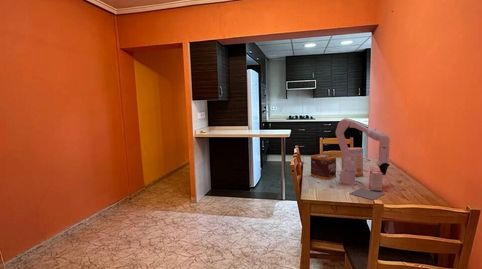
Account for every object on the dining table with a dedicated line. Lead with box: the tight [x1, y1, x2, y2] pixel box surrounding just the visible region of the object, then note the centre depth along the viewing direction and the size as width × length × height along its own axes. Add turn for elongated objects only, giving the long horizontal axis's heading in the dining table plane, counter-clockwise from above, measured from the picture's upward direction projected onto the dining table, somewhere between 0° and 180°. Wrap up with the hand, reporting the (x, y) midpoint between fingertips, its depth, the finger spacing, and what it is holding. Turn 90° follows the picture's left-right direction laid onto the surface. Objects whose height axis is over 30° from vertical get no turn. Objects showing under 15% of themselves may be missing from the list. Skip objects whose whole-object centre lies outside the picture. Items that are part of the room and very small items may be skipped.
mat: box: [349, 188, 386, 201], centre depth 149 cm, size 14×14×1 cm
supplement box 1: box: [310, 153, 337, 181], centre depth 189 cm, size 10×15×16 cm
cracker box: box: [341, 147, 364, 177], centre depth 189 cm, size 14×6×21 cm, turn 84°
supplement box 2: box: [368, 170, 384, 192], centre depth 155 cm, size 6×6×12 cm
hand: (383, 174), depth 161 cm, fingers closed
